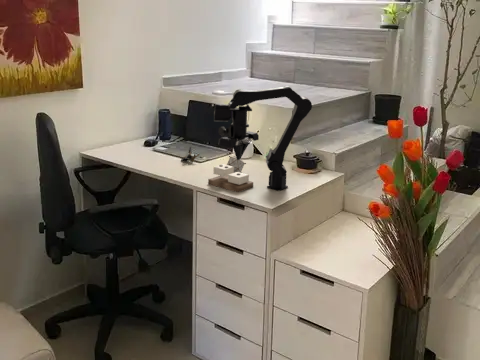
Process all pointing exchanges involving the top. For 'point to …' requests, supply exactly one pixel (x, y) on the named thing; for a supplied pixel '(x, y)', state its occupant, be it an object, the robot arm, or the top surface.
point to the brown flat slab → (229, 184)
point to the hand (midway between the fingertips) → (238, 159)
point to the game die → (236, 164)
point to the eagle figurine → (190, 155)
